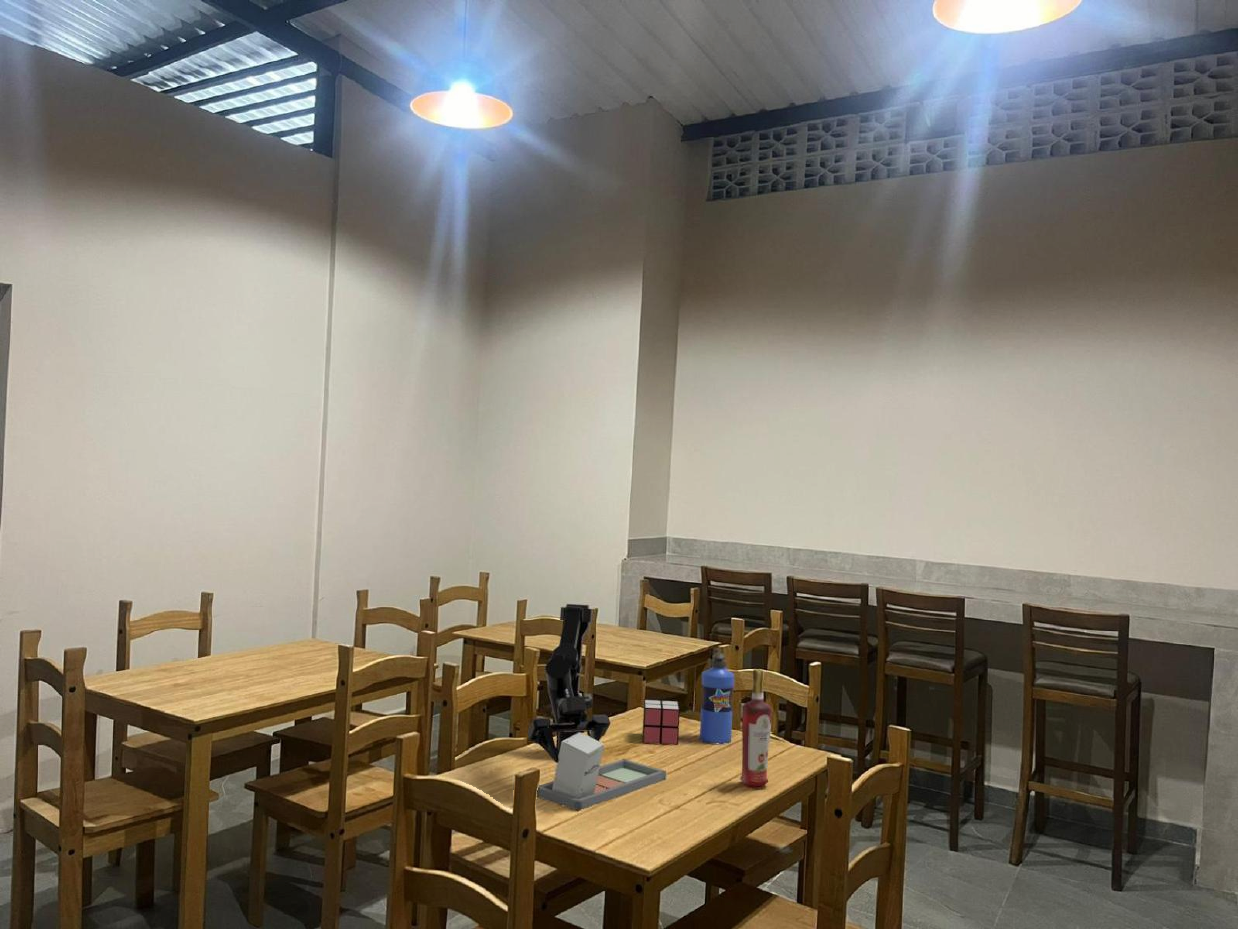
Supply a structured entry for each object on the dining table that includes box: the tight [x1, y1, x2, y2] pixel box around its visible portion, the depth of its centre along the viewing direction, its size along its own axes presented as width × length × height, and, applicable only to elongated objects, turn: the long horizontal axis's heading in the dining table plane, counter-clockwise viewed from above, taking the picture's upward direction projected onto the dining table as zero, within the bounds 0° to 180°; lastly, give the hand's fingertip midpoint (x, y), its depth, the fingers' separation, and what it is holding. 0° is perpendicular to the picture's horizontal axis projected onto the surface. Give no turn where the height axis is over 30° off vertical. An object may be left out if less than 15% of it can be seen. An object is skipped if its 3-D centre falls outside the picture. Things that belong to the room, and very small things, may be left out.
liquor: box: [739, 668, 773, 789], centre depth 220 cm, size 7×7×28 cm
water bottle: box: [699, 651, 735, 745], centre depth 260 cm, size 9×9×25 cm
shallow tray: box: [536, 758, 667, 811], centre depth 213 cm, size 13×32×2 cm, turn 140°
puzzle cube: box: [641, 699, 681, 746], centre depth 257 cm, size 10×10×10 cm
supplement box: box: [552, 732, 605, 799], centre depth 204 cm, size 7×7×13 cm
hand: (576, 760), depth 204 cm, fingers closed on supplement box, 9 cm apart
